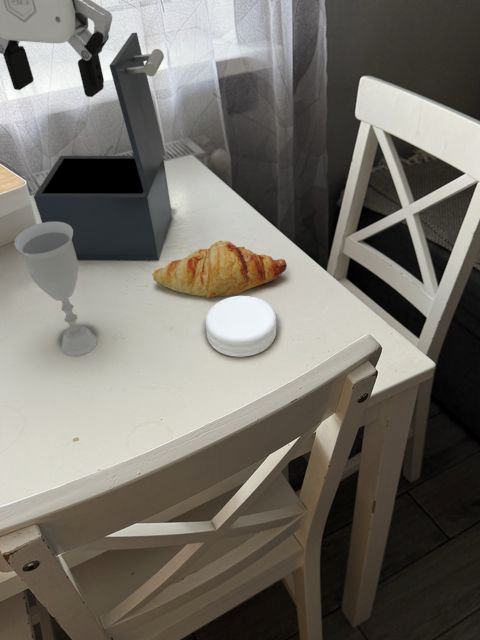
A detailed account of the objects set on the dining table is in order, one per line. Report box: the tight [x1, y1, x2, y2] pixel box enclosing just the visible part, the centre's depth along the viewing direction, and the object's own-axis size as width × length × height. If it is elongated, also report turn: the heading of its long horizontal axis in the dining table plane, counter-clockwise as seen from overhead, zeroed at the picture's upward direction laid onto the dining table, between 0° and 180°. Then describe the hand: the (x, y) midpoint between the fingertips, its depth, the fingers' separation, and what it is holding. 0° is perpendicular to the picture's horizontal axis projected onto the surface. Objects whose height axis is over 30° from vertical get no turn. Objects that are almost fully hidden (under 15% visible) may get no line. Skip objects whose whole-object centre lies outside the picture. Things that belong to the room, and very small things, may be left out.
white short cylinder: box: [205, 295, 277, 358], centre depth 85 cm, size 10×10×4 cm
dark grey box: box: [33, 155, 173, 262], centre depth 101 cm, size 18×14×12 cm
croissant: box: [152, 240, 288, 299], centre depth 93 cm, size 21×10×8 cm, turn 95°
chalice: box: [14, 222, 98, 357], centre depth 79 cm, size 7×7×18 cm
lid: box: [109, 32, 166, 194], centre depth 90 cm, size 19×14×5 cm
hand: (59, 89), depth 71 cm, fingers open, 9 cm apart
